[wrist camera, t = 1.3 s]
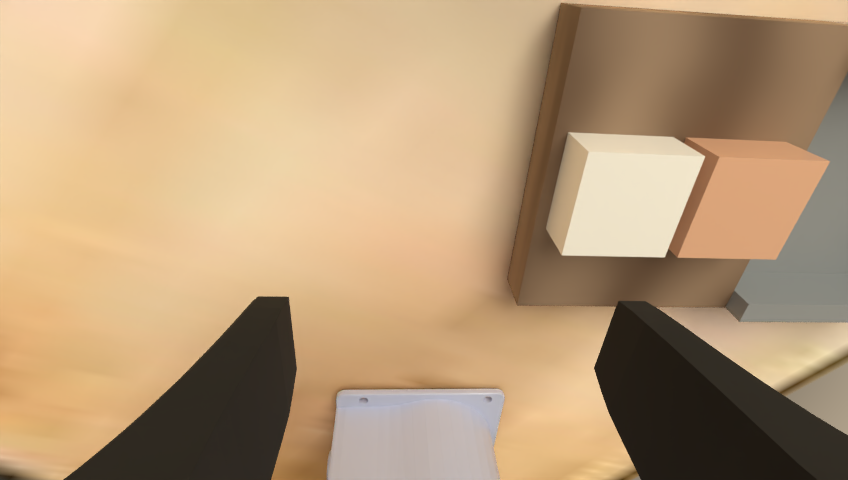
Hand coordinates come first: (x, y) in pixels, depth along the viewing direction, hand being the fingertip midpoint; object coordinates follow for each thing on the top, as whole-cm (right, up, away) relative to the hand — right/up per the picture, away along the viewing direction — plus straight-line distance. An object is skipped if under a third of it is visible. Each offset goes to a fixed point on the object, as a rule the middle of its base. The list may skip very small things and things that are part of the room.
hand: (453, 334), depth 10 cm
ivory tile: (+6, +4, +8) cm, 11 cm away
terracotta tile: (+11, +4, +8) cm, 14 cm away
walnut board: (+9, +5, +10) cm, 14 cm away
